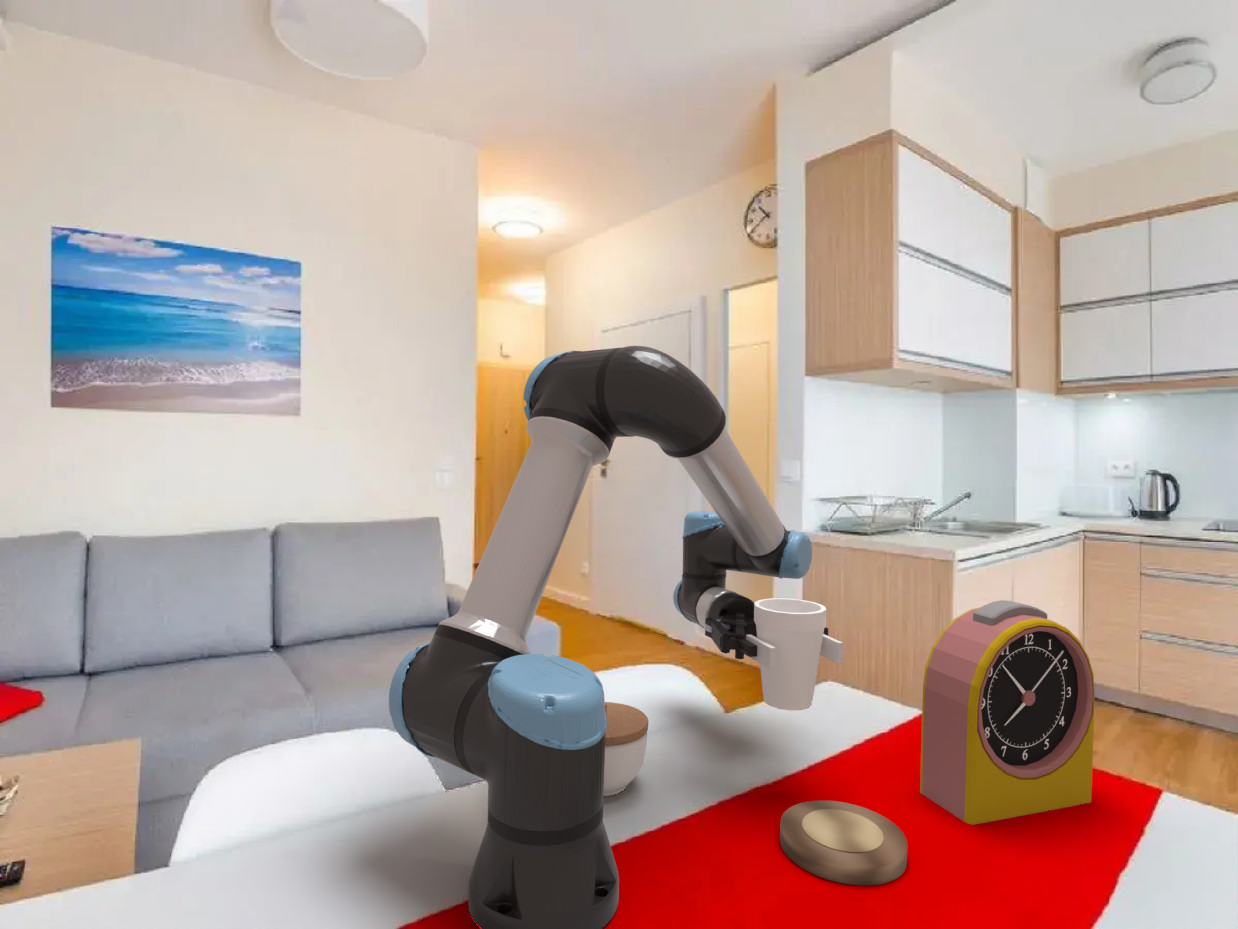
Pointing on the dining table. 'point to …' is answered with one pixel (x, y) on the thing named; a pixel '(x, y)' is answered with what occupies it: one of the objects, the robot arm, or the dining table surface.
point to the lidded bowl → (623, 746)
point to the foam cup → (790, 649)
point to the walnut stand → (843, 842)
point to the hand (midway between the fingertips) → (807, 655)
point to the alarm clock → (1007, 715)
